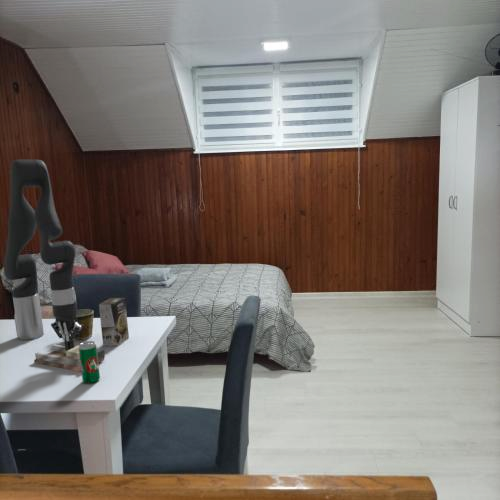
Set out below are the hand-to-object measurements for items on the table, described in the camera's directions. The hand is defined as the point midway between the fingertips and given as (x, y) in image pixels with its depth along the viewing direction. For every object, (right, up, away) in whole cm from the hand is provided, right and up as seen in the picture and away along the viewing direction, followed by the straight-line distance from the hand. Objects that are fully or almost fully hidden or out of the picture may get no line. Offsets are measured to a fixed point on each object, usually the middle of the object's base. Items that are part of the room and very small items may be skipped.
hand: (70, 350), depth 152 cm
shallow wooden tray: (-1, -4, +1) cm, 4 cm away
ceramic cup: (-6, -1, +25) cm, 25 cm away
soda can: (+13, -6, -15) cm, 20 cm away
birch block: (+4, -3, -1) cm, 5 cm away
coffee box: (+10, -1, +18) cm, 21 cm away
